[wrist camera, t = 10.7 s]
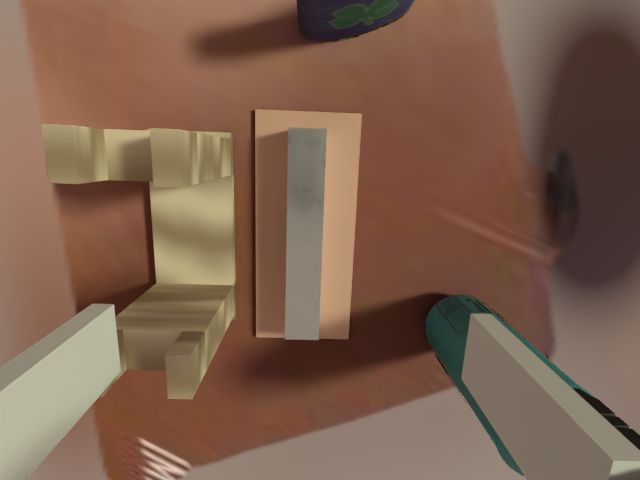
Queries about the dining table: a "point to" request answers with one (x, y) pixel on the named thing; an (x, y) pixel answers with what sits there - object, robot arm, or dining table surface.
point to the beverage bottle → (449, 345)
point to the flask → (346, 17)
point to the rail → (304, 231)
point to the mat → (335, 222)
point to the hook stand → (167, 239)
